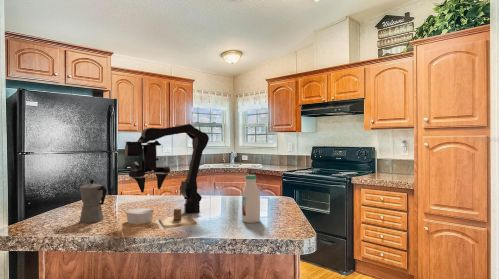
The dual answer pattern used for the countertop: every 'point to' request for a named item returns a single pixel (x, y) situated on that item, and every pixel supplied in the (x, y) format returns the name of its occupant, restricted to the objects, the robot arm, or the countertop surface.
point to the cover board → (175, 223)
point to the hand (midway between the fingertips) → (150, 190)
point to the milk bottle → (251, 201)
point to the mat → (174, 227)
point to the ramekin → (139, 215)
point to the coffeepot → (92, 202)
